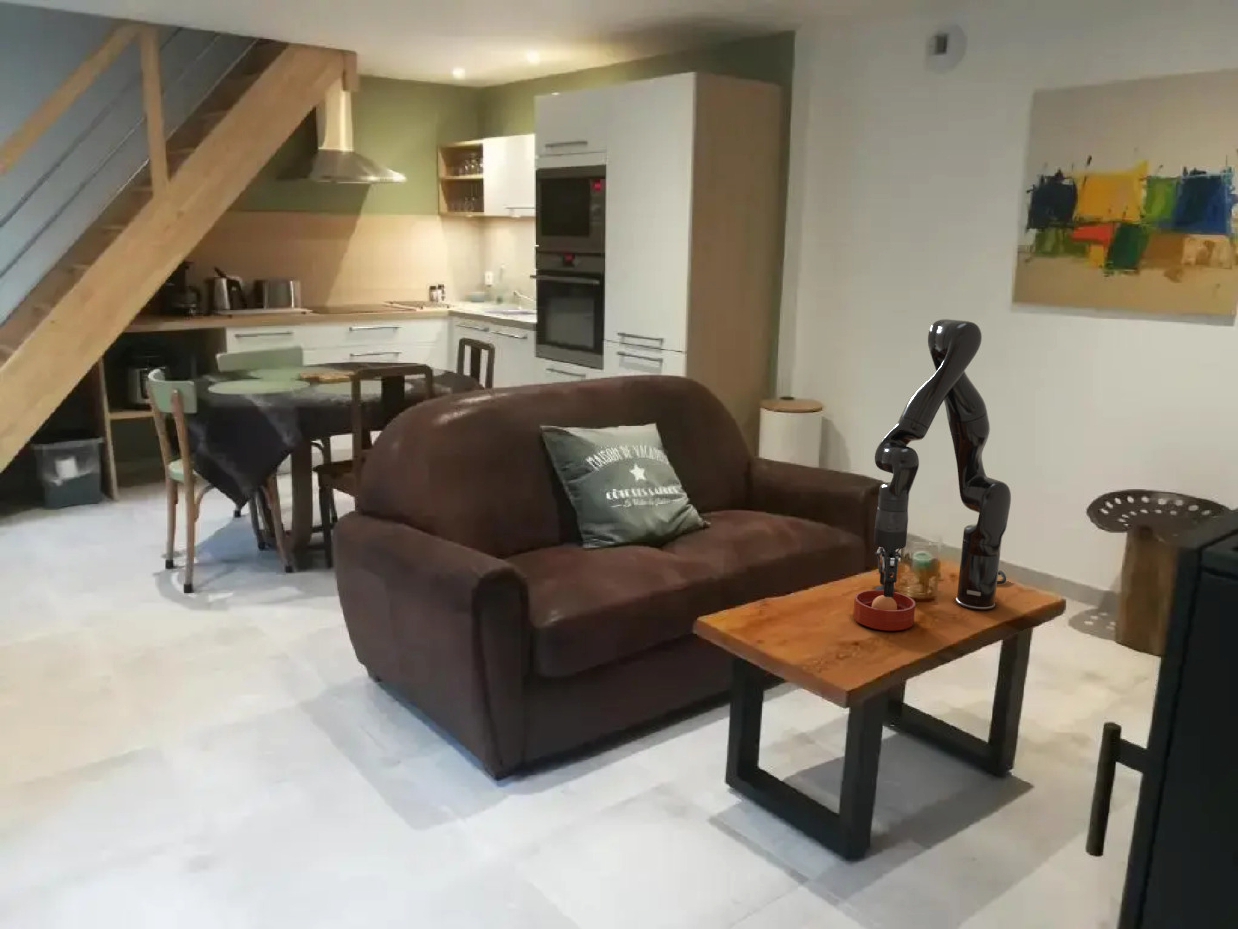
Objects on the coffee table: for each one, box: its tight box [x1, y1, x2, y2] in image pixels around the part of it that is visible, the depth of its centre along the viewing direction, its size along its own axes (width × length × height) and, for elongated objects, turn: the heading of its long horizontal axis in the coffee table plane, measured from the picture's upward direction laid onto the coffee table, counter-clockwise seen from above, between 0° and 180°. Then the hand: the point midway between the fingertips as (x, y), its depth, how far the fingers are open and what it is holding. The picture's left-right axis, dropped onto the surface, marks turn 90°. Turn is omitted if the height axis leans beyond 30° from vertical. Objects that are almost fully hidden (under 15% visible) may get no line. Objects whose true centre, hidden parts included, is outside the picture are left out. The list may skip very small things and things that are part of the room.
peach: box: [872, 595, 897, 610], centre depth 236 cm, size 6×6×7 cm
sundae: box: [874, 547, 902, 592], centre depth 257 cm, size 7×7×15 cm
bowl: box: [852, 589, 916, 632], centre depth 236 cm, size 14×14×6 cm
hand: (886, 590), depth 235 cm, fingers open, 8 cm apart
